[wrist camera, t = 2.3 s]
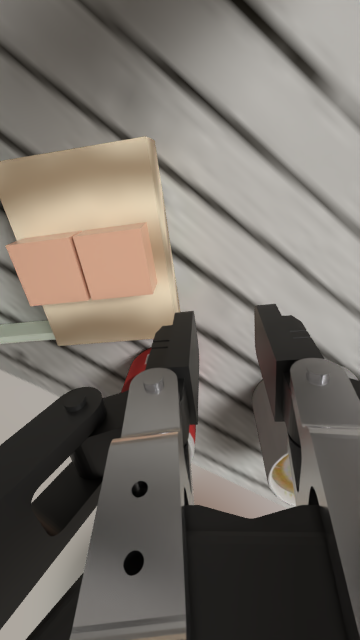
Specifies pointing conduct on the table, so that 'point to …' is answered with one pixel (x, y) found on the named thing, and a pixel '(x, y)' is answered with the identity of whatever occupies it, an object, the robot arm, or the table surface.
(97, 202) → the plate
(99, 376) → the table surface
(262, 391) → the coffee mug
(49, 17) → the table surface
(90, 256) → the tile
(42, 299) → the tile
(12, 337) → the tray
